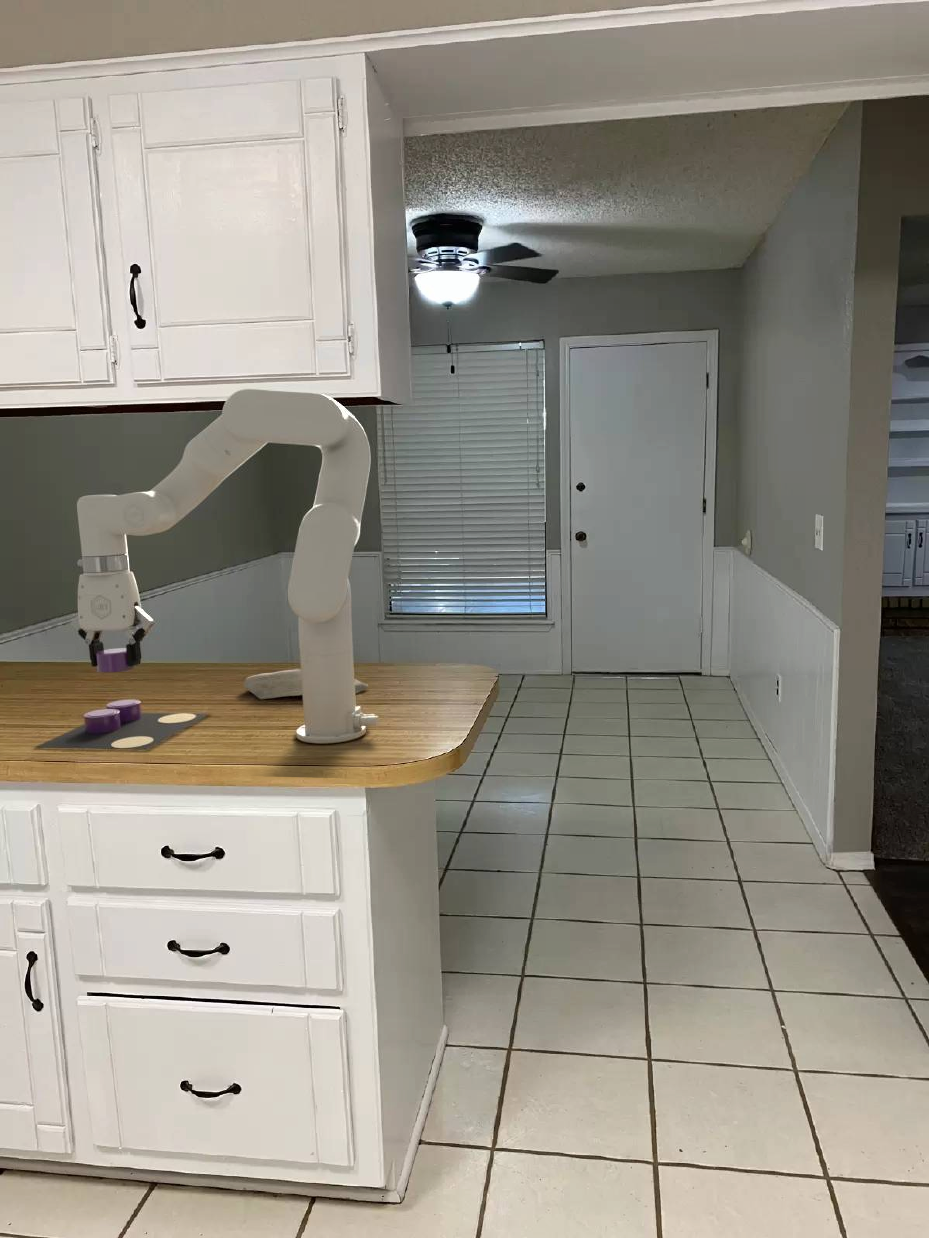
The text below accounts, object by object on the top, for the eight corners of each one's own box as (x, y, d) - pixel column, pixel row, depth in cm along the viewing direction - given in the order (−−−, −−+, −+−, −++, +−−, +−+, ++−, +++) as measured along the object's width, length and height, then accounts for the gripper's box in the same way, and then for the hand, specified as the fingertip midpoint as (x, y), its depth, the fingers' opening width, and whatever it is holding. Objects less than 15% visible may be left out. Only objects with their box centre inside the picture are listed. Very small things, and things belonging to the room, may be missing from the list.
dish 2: (148, 714, 183) (146, 698, 182) (130, 723, 177) (129, 706, 176) (119, 714, 184) (117, 698, 184) (101, 722, 178) (99, 706, 177)
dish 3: (127, 724, 176) (125, 708, 175) (108, 734, 169) (107, 717, 169) (97, 724, 177) (96, 708, 176) (78, 733, 171) (76, 716, 170)
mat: (209, 715, 182) (209, 713, 182) (146, 751, 159) (146, 748, 158) (110, 714, 186) (110, 712, 186) (35, 749, 163) (35, 746, 163)
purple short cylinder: (142, 665, 164) (140, 647, 163) (123, 672, 158) (121, 654, 157) (110, 665, 165) (108, 647, 165) (90, 672, 159) (88, 654, 158)
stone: (225, 679, 197) (265, 667, 211) (231, 712, 198) (270, 697, 211) (333, 668, 186) (367, 655, 200) (339, 702, 187) (373, 687, 201)
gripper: (48, 568, 157) (60, 669, 159) (139, 566, 153) (149, 669, 156) (74, 564, 164) (85, 660, 167) (162, 562, 161) (171, 660, 163)
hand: (116, 664), depth 161 cm, fingers closed on purple short cylinder, 6 cm apart
